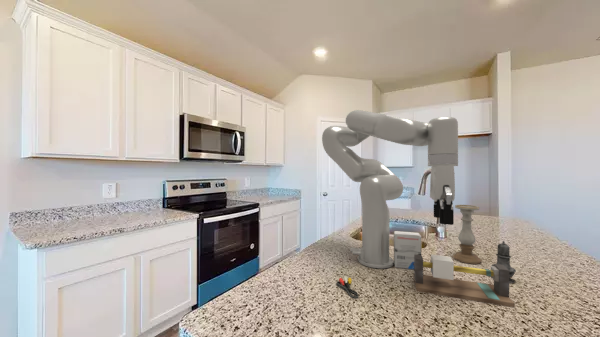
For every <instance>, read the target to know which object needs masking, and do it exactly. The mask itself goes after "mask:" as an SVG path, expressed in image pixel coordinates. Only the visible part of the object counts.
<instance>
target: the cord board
mask: <svg viewBox="0 0 600 337" xmlns="http://www.w3.org/2000/svg"><path fill="white" fill-rule="evenodd" d="M493 264H494V266H491V265H490V268H489V269H488V268H478V267H477V268H476V267H470V266H461V265H454V272H458V273H467V274H474V275H481V276H486V277H490V278H491V279H492V281H493V284H492V283H491V284H490V283H485V282H484V283H483V282H477V281H471V280H470V281H469V280H462V279H458V278H457V279H455V278H454V280H450V279H443V278H436V277H433V276H432V275H429V274H424V268H428V269H431V268H432V263H431V261H424V257H423V254H421V255H416V254H414V269H413V270H414V271H413V273H412V274H413V276H412V278H413V280H414V286H415V290H416V292H419V293H425V294H430V295H438V296H443V297H449V298H455V299H461V300H467V301H473V302H478V303H486V304H491V305H497V306H504V307H508V308H509V307H510V308H515V306H516V304H515V302H514V301H513V300H512V299H511V298H510V283H509V270H508V269H507V268H506V267H505V266H504V265H501V264H496V263H493Z"/></svg>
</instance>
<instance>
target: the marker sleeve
mask: <svg viewBox="0 0 600 337" xmlns="http://www.w3.org/2000/svg"><path fill="white" fill-rule="evenodd" d="M430 262H431V263H432V268H430V273H431V274H432V275H431V276H433V277H436V278H443V279H450V280H454V279H455V278H454V272H455V271H454V266H455V265H454V264H455V262H454V260H453V259H452V258H451V256H449V255H448V256H447V255H440V254H430Z"/></svg>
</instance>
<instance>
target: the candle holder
mask: <svg viewBox="0 0 600 337" xmlns="http://www.w3.org/2000/svg"><path fill="white" fill-rule="evenodd" d="M454 208H455V209H458V210H460V211H459V212H460V213H461V214H462V217H461V218H460V220H461V223H462V226H461V230H460V232H459V234H458V236H457V238H458V241H459V242H460V244H459V245H458V246H459V247H460V251H459V250H458V251H455V253H453V254H452V258H453V259H454V260H455V261H457V262H460V263H465V264H470V265H477V264H479V265H480V264H481V263H482V259H481V258H480V257H479V256H478V255H477V254H476V253H473V250H474V249H475V246H474V244H475V243H476V241H477V240H476V236H475V235H474V233H473V229H472V222H473V221H474V220H473V217H472V216H473V214H474V211H479V210H480V207H479V206H477V205H471V204H455V205H454Z"/></svg>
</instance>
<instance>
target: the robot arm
mask: <svg viewBox="0 0 600 337" xmlns="http://www.w3.org/2000/svg"><path fill="white" fill-rule="evenodd" d="M345 125H346V126H341V125H330V126H328V127H326V128H325V129H324V130H323V131H322V136H321V143H322V147H323V150H324V152H325V153H326V154H327V156H329V158H330V159H331V160H332V161H334V163H335V164H337V166H338V167H339V168H340V169H341V170H342V171H343V172H344V173H345V174H346V175H347V177H348V178H349V179H350V180H352V181H353V182H355V183H360V184H359V195H360V201H361V211H362V214H361V215H362V216H361V218H362V219H361V220H362V221H361V222H362V223H361V224H362V226H361V228H362V230H361V231H362V232H361V233H362V236H361V238H362V240H361V242H362V244H361V247H358V248H357V247H350V248H349V250H350V253H351V254H352V255H356V256H357V261H358V263H360V265H363V266H366V267H368V268H371V269H389V268H392V267H393V266H394V258H393V257H390V234H391V233H390V230H391V229H390V224H391V222H390V209H389V207H388V204H387V201H393V200H397V199H399V198H400V197H401V196H402V194H403V192H404V186H403V182H402V181H401V179H400V178H399V177H398V176H397V175H396V174H395V173H393V171H391V170H390V169H389V168H388V167H387V166H386V165H385V164H383V163H382V162H380V161H379V160H377V159H375V158H374V159H373V158H363V157H361V156H359V155H358V154H357V153H356V152H355V151H354V150H353V149H351V148H352V147H355V146H357V145H359V144H361V143H362V142H364V140H366V139H368V138H369V137H374V138H377V139H380V140H384V141H388V142H391V143H395V144H398V145H399V144H400V145H403V146H404V145H405V146H413V147H427V167H431V168H430V184H429V185H430V186H429V188H430V189H429V197H430V199H432V200H433V218H439V224H440V225H448V226H452V225H454V220H455V218H454V215H455V214H454V203H453V202H454V201H455V198H456V197H455V196H456V186H455V185H456V179H455V178H456V177H455V167H458V166H459V122H458V120H457V118H456V117H452V116H442V117H435V118H432V119H431V120H429V121H428V122H423V121H417V120H413V119H407V118H401V117H396V116H389V115H387V114H384V113H379V112H372V111H367V110H359V109H355V110H352V111H350V112H349V113H347V115H346V117H345ZM350 147H351V148H350Z"/></svg>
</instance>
